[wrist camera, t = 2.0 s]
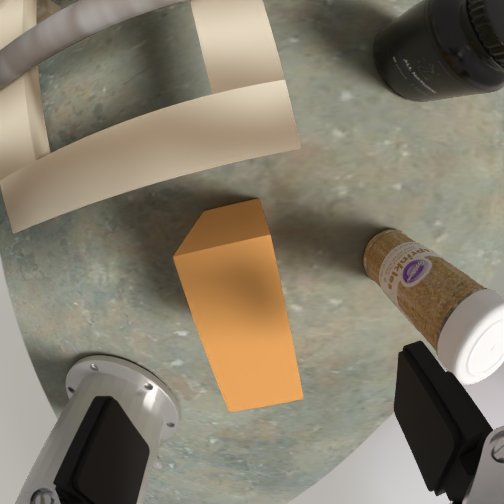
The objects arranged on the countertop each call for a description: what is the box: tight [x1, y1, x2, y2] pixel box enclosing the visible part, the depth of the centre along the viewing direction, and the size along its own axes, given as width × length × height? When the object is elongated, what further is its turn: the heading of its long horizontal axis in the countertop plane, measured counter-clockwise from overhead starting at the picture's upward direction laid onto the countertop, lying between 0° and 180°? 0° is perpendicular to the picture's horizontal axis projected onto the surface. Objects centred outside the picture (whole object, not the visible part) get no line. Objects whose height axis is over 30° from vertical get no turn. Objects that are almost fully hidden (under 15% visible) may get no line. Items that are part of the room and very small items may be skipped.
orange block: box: [173, 198, 304, 412], centre depth 18 cm, size 9×4×10 cm, turn 13°
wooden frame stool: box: [0, 0, 301, 234], centre depth 13 cm, size 17×15×11 cm
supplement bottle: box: [374, 0, 504, 102], centre depth 13 cm, size 7×7×12 cm
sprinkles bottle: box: [363, 229, 504, 384], centre depth 17 cm, size 5×5×14 cm
